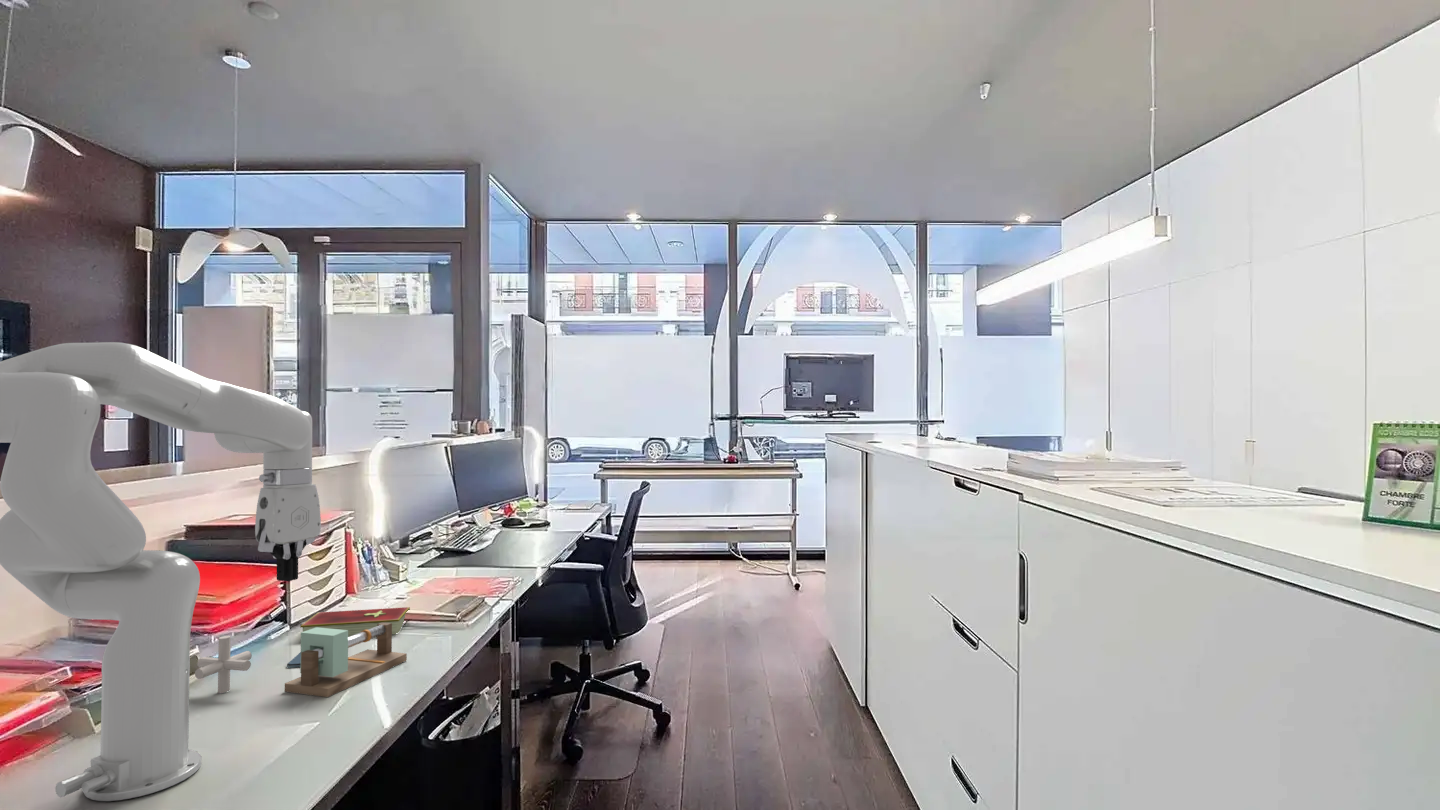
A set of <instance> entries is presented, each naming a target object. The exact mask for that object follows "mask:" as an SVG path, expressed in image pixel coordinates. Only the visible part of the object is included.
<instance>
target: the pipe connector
mask: <svg viewBox="0 0 1440 810" xmlns="http://www.w3.org/2000/svg"><path fill="white" fill-rule="evenodd" d="M231 639H232V638H231V635H222V636H220V637H218V656H217V657H208V656H207V657H205V656H202V657H200V658H199V659H198V661H197V667H198V668H197V669H196V670H195V671H194V677H195V678H196V679H198V680H201V679H203V678H207V677H209V676H211V675H214V674H216V673H217V694H225V693H224V692H226V693H228V692H227V691H229V690H230V691H231V671H242V672H247V671H249V670H250V668H251V665H252V663H251V659H252V653H251V651H249V650H246V651H243V652H241V653H238V654H234V655H232V656H231V645H232V644H231V643H232V642H231V641H232V640H231ZM230 691H229V692H230Z"/></svg>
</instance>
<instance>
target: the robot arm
mask: <svg viewBox="0 0 1440 810" xmlns="http://www.w3.org/2000/svg"><path fill="white" fill-rule="evenodd" d="M101 405H106V406H111V407H115V408H119V409H122V410H123V411H127V412H129V413H133V414H135V415H138V416H141V417H144V418H145V419H146V418H147V419H149V420H152V421H155V422H157V423H159V424H163V425H165V426H168V427H170V428H173V429H178V430H182V431H189V432H196V433H202V434H203V433H204V434H213V435H214V438H215V440H216V442H217V444H218V445H220V446H221V447H222V448H223V449H225V450H227V451H229V452H233V453H239V454H240V453H241V454H243V453H244V454H261V453H263V459H262V460H263V461H262V463H263V471H262V472H263V473H262V474H259V477H258V480H259V482H262V487H260V490H259V493H258V498H257V505H256V511H255V524H254V525H255V526H254V530H255V531H254V534H255V540H256V542H257V543H258V546H257V551H258V552H259V553H260V552H262V553H263V552H265V553H269V554H270V555H272V557H273V559H275V560H276V580H277V581H279V582H293V581H297V580H298V578H299V558H300V557H301V556H302V555H303V550H304V549H305V547H306V546H308V545H309V544H313V543H314V542H315V540H316V537H318V536H319V535H320V534H321V531H322V529H321V528H322V520H321V519H322V518H321V517H322V516H321V506H320V505H321V504H320V498H319V492H318V489H317V486H316V484H314V483H313V417H312V415H311V414H310V413H309V412H307V411H306V410H305V411H304V410H301V409H299V408H298V407H296V406H295V405H292V404H290V403H289V402H287V401H284V400H282V399H280V398H278V397H275V396H273V395H270V394H267V393H263V392H260V391H256V390H253V389H248V388H245V387H240V386H237V385H233V384H231V383H227V382H224V381H223V382H222V381H220V380H216V379H211V378H207V377H205V376H203V375H200V374H198V373H196V372H195V371H192V370H189V369H187V368H186V367H183V366H182V365H180V364H177V363H174V362H172V361H170V360H168V359H166V358H164V357H162V356H160V355H158V354H156V353H154V352H151V351H149V350H147V349H145V348H143V347H140V346H138V345H136V344H131V343H124V342H121V341H119V342H118V341H117V342H116V341H115V342H114V341H111V342H110V341H109V342H108V341H104V342H66V343H59V344H55V345H49V346H47V347H42V348H39V349H36V350H33V351H29V352H26V353H23V354H19V355H16V356H14V357H11V358H7V359H5V360H1V361H0V444H1V443H4V444H5V443H6V444H7V443H9V444H10V445H9V447H8V451H7V454H6V457H5V461H4V465H3V467H2V468H3V469H2V472H1V476H0V494H1V496H2V498H3V499H2V500H4V502H5V503H6V505H7V506H8V507H9V508H10V510H8V511H7V512H6V513H4V515H3V516H2V517H1V518H0V566H1V567H2V568H3V569H4V570H5V571H6V572H7V573H8V574H10V575H11V577H13V578H14V579H15V580H17V582H19V583H20V584H21V585H23V586H24V587H25V588H26V589H27V590H29V591H30V592H31V593H32V594H33V595H35V596H36V597H38V599H39V600H41V601H42V602H44V603H45V604H46V605H47V606H48V607H49V608H51V609H52V610H54V611H55V612H57V613H59V614H61V615H63V616H65V617H68V618H71V619H79V620H80V619H81V620H103V621H104V620H105V621H106V620H107V621H108V620H109V621H118V625H117V626H116V629H115V631H114V633H113V634H112V636H111V637H110V639H109V640H108V642H107V644H106V646H105V648H104V652H103V655H102V660H101V706H100V707H101V711H100V713H101V714H100V719H101V720H100V751H99V752H100V753H99V755H97V756H95V757H93V758H91V759H90V766H89V767H87V768H85V769H84V770H83V772H82V773H80V774H77V775H73V776H71V777H68V778H66V779H63V780H61V781H59V782H57V783H56V784H55V787H54V789H55V795H57V797H59V798H63V797H65V796H68V795H70V794H72V793H75V792H78V791H79V790H81V791H82V792H83V793H84V796H85V797H86V798H87V799H89V800H92V801H97V802H114V801H116V802H117V801H122V800H128V799H129V800H130V799H134V798H138V797H142V796H147V795H150V794H153V793H156V792H160V791H162V790H163V791H164V790H165V789H168V788H170V787H172V786H175V785H177V784H179V783H181V782H183V781H185V780H186V779H188V778H190V777H191V776H192V775H194V774H195V773H196V772H197V771H198V770H199V769H200V768H201V766H202V755H201V753H200V752H198V751H196V750H193V749H189V737H190V735H189V731H190V729H189V728H190V726H189V725H190V724H189V723H190V675H191V674H190V670H191V669H190V668H191V667H190V666H191V663H190V661H191V660H190V657H191V656H190V655H191V654H190V652H191V648H190V647H191V630H192V623H193V622H192V621H193V615H194V611H195V606H196V602H197V598H198V594H199V589H200V584H201V576H200V575H201V574H200V571H199V568H198V565H196V564H195V562H194V561H193V560H192V559H191V558H190V557H188V556H186V555H184V554H181V553H179V552H175V551H170V550H169V551H168V550H155V549H154V550H153V549H151V550H150V549H148V550H147V549H145V546H146V543H147V533H146V531H145V528H144V526H143V524H142V523H141V521H140V520H139V518H138V517H137V516H136V514H135V513H134V512H133V511H132V510H131V509H130V508H129V506H127V505H126V503H124V501H122V499H121V498H120V497H119V496H118V495H117V494H116V493H115V492H114V491H113V489H111V488H110V487H109V485H107V484H106V482H105V481H104V480H103V479H102V478H101V476H100V474H98V472H97V471H96V469H95V468H94V466H93V465H92V460H91V449H92V443H93V440H94V436H95V433H96V429H97V427H98V424H99V422H100V417H101Z"/></svg>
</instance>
